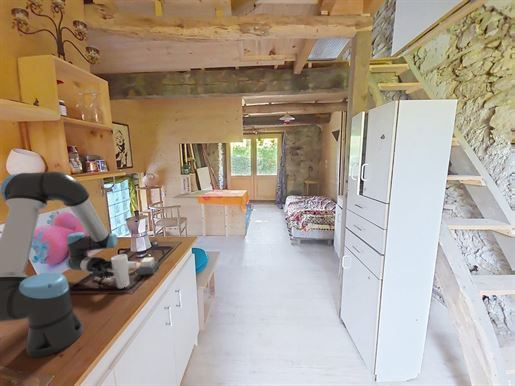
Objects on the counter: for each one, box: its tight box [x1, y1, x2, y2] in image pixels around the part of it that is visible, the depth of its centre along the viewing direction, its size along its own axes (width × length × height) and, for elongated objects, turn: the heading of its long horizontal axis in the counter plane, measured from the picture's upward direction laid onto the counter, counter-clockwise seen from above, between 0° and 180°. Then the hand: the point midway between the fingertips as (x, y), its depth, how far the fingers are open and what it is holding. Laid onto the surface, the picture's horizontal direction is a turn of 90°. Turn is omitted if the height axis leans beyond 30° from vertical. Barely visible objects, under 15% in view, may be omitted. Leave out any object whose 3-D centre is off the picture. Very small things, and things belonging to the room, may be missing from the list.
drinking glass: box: [110, 253, 130, 289], centre depth 116 cm, size 7×7×15 cm
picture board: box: [93, 260, 141, 285], centre depth 131 cm, size 22×13×1 cm, turn 151°
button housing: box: [136, 260, 160, 277], centre depth 131 cm, size 8×8×4 cm
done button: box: [140, 256, 155, 267], centre depth 130 cm, size 5×5×4 cm
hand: (128, 269), depth 115 cm, fingers open, 9 cm apart
